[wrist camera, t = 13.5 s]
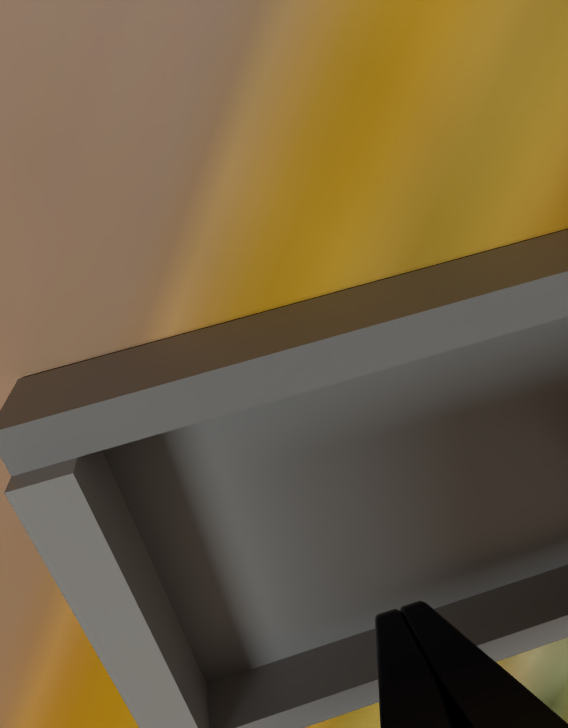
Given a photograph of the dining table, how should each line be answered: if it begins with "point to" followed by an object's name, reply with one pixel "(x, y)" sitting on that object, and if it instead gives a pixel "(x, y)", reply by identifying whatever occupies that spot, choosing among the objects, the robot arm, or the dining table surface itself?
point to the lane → (308, 488)
